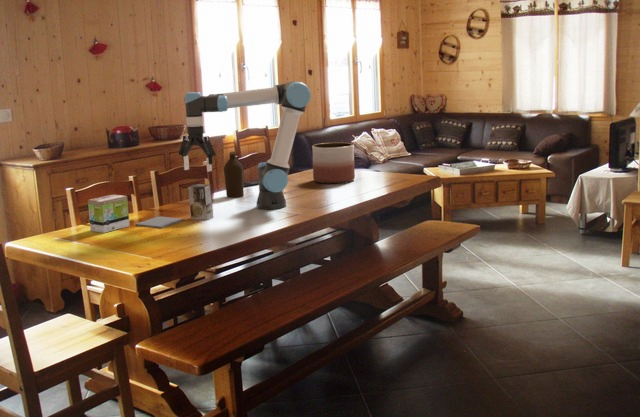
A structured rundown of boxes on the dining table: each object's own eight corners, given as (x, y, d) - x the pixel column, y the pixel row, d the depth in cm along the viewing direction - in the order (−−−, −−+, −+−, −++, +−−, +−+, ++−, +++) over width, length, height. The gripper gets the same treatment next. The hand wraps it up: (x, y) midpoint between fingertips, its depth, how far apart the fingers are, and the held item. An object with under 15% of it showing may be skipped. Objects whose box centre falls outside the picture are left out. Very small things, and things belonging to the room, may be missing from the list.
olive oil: (232, 199, 369) (229, 153, 363) (222, 196, 377) (218, 152, 371) (248, 196, 375) (245, 151, 370) (238, 193, 383) (235, 149, 378)
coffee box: (213, 217, 327) (211, 184, 324) (207, 220, 321) (204, 186, 318) (197, 216, 330) (194, 183, 327) (190, 219, 324) (187, 186, 321)
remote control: (225, 189, 402) (225, 185, 401) (269, 181, 422) (268, 178, 421) (232, 190, 396) (232, 187, 396) (276, 183, 416) (276, 179, 415)
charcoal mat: (184, 220, 322) (184, 218, 322) (162, 228, 308) (161, 226, 308) (159, 217, 330) (158, 216, 329) (135, 225, 316) (135, 223, 316)
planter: (355, 183, 400) (354, 146, 395) (312, 185, 401) (311, 148, 396) (354, 176, 425) (353, 141, 420) (313, 178, 425) (312, 143, 421)
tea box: (105, 233, 303) (101, 201, 300) (90, 231, 308) (86, 199, 305) (130, 226, 315) (127, 195, 312) (115, 224, 320) (112, 193, 317)
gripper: (221, 125, 313) (224, 170, 318) (179, 124, 325) (182, 167, 330) (211, 126, 307) (214, 173, 312) (169, 125, 319) (172, 170, 323)
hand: (198, 170), depth 321 cm, fingers open, 13 cm apart
